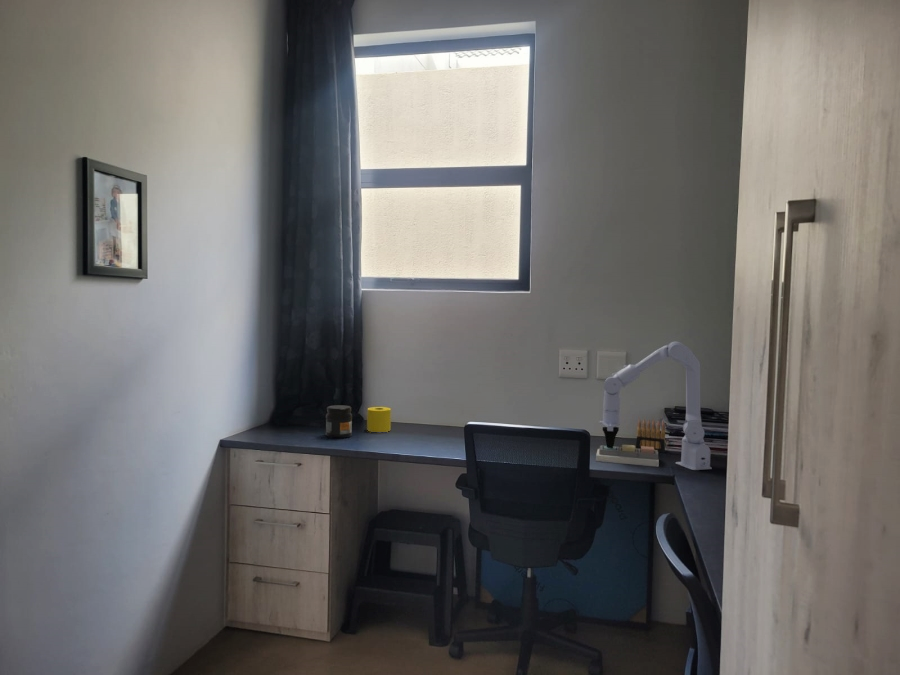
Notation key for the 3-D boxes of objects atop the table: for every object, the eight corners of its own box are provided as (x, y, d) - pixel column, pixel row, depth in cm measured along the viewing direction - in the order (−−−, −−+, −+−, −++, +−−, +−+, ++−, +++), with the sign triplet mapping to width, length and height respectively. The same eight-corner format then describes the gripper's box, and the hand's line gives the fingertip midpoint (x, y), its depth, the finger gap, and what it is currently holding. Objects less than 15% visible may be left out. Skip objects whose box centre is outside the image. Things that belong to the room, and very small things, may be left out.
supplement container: (356, 436, 249) (357, 407, 248) (334, 440, 242) (334, 410, 241) (342, 432, 257) (343, 404, 256) (320, 435, 250) (321, 406, 249)
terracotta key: (653, 452, 220) (653, 447, 220) (654, 454, 216) (654, 449, 216) (640, 451, 221) (641, 446, 221) (641, 453, 217) (641, 448, 217)
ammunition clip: (635, 449, 239) (636, 418, 238) (636, 448, 240) (637, 418, 240) (664, 452, 234) (665, 421, 234) (665, 451, 236) (666, 420, 235)
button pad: (657, 459, 223) (657, 449, 223) (658, 466, 212) (659, 455, 212) (597, 454, 229) (597, 444, 229) (595, 461, 218) (596, 450, 218)
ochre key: (634, 450, 222) (634, 445, 222) (634, 453, 218) (635, 448, 217) (622, 449, 223) (622, 444, 223) (622, 452, 219) (622, 447, 219)
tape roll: (392, 432, 258) (392, 410, 258) (368, 433, 256) (368, 411, 256) (388, 428, 268) (389, 406, 268) (366, 428, 266) (366, 407, 265)
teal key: (616, 451, 224) (616, 446, 224) (615, 454, 219) (616, 449, 219) (603, 450, 225) (603, 445, 225) (603, 453, 221) (603, 448, 221)
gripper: (600, 406, 229) (599, 442, 230) (598, 412, 216) (597, 450, 216) (620, 407, 227) (619, 443, 228) (619, 413, 214) (618, 452, 214)
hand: (610, 447), depth 222 cm, fingers closed
